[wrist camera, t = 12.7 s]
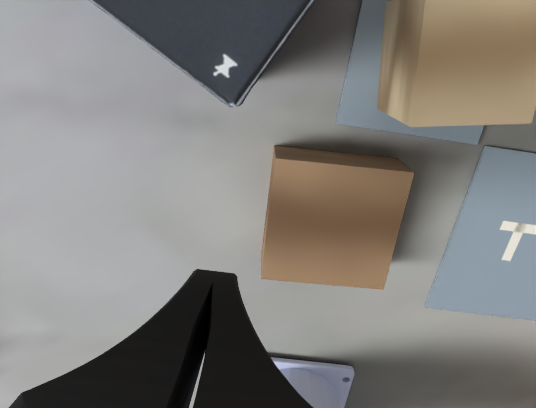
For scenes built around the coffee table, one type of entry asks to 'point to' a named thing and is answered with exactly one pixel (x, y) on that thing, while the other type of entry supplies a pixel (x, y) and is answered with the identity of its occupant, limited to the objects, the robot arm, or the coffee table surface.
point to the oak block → (458, 62)
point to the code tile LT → (493, 241)
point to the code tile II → (367, 83)
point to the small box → (213, 37)
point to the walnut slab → (333, 217)
